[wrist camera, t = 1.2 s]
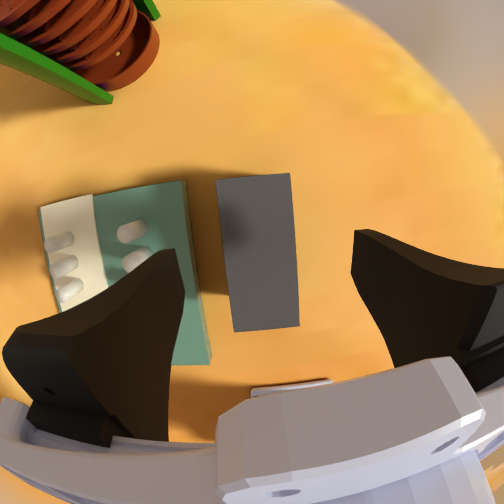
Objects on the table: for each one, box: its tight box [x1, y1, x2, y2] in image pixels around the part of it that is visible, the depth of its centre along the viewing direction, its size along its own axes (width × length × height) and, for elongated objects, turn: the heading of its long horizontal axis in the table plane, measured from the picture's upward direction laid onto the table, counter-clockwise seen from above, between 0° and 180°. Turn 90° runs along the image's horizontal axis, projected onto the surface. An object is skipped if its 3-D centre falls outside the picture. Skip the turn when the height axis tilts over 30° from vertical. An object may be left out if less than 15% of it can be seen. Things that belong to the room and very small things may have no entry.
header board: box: [38, 180, 212, 365], centre depth 20 cm, size 15×14×4 cm
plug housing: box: [216, 173, 300, 332], centre depth 19 cm, size 9×4×6 cm, turn 6°
